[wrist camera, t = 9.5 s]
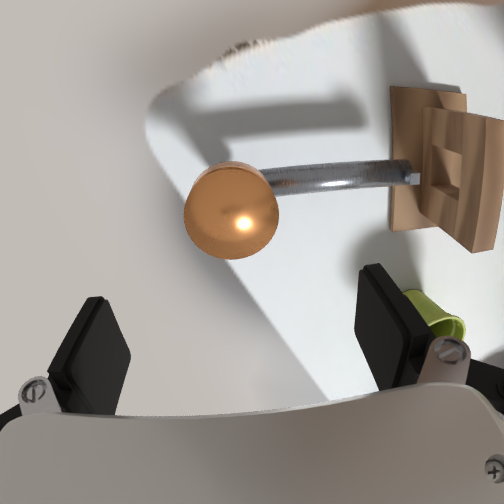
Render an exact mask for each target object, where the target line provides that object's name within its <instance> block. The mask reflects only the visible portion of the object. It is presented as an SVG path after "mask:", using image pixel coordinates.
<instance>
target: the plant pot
mask: <svg viewBox="0 0 504 504" xmlns="http://www.w3.org/2000/svg"><path fill="white" fill-rule="evenodd" d="M403 294H404V295H406V296H407V297H408V298H409V299H410V301H411V302H412V303H413V305H414V306H415V308H416V309H417V310H418V312H419V313H420V315H421V316H422V317H423V319H424V320H425V322H426V323H427V324H428V326H429V327H430V329H431V330H432V332H433V333H434V334H435V336H436V337H437V338H438V337H441V336H453V337H456V338H459V339H461V340H462V341H463V340H464V337H465V333H466V328H465V324H464V322H463V320H462V319H461V318H459V317H457V316H454V315H451V314H449V313H446V312H445V311H444V310H443V309H441V308H440V307H439V306H438V305H437V304H435V303H434V302H433V301H432V300H431V299H429V298H428V297H427V296H426V295H425V294H423V293H422V292H421V291H419V290H408V291H405V292H403Z"/></svg>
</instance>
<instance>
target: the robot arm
mask: <svg viewBox="0 0 504 504" xmlns="http://www.w3.org/2000/svg"><path fill="white" fill-rule="evenodd" d="M354 331H355V335H356V338H357V340H358V342H359V345H360V347H361V349H362V351H363V354H364V356H365V358H366V361H367V363H368V365H369V367H370V370H371V372H372V374H373V377H374V379H375V382H376V384H377V386H378V389H379V391H378V392H373V393H369V394H364V395H359V396H354V397H349V398H343V399H338V400H332V401H327V402H321V403H315V404H309V405H303V406H296V407H288V408H281V409H273V410H264V411H255V412H244V413H233V414H218V415H199V416H158V417H157V416H117V415H115V411H116V408H117V404H118V400H119V397H120V393H121V389H122V387H123V383H124V380H125V376H126V373H127V370H128V367H129V363H130V360H131V354H130V350H129V348H128V346H127V344H126V342H125V339H124V337H123V335H122V333H121V331H120V328H119V325H118V323H117V321H116V318H115V316H114V313H113V311H112V309H111V306H110V304H109V302H108V300H105V299H104V298H103V297H102V296H99V297H89V298H87V300H86V302H85V303H84V305H83V307H82V308H81V310H80V312H79V313H78V315H77V317H76V318H75V320H74V322H73V324H72V326H71V327H70V329H69V331H68V333H67V335H66V336H65V338H64V340H63V342H62V343H61V345H60V347H59V349H58V351H57V353H56V355H55V357H54V358H53V360H52V362H51V364H50V366H49V368H48V370H47V372H48V373H49V377H48V378H45V377H42V376H38V377H34V378H31V379H29V380H28V381H27V382H25V383H24V384H23V385H22V387H21V388H20V390H19V394H18V400H19V404H17V405H16V406H14V407H12V408H11V409H9V410H7V411H6V412H4V413H2V414H1V415H0V504H504V369H501V368H498V367H495V366H492V365H489V364H486V363H483V362H480V361H477V360H474V359H471V351H470V349H469V347H468V345H467V344H466V343H465V342H464V341H462V340H461V339H459V338H456V337H453V336H441V337H438V338H437V337H436V336H435V334H434V333H433V332H432V330H431V329H430V327H429V326H428V324H427V323H426V322H425V320H424V319H423V317H422V316H421V315H420V313H419V312H418V310H417V309H416V308H415V306H414V305H413V303H412V302H411V301H410V299H409V298H408V297H407V296H406V295H404V294H403V293H402V292H401V291H400V289H399V288H398V287H397V285H396V284H395V283H394V281H393V280H392V279H391V277H390V276H389V275H388V273H387V272H386V271H385V269H384V268H383V267H382V265H381V264H380V263H377V264H371V265H365V266H364V268H363V270H360V271H359V279H358V292H357V304H356V315H355V325H354Z"/></svg>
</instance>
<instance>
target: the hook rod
mask: <svg viewBox="0 0 504 504" xmlns="http://www.w3.org/2000/svg"><path fill="white" fill-rule="evenodd" d="M419 184H420V173H419V172H417V171H415V170H413V168H412V165H411V163H410V161H409V160H407V159H395V160H371V161H353V162H337V163H324V164H311V165H300V166H289V167H279V168H270V169H261V170H257V169H256V168H254V167H252V166H250V165H248V164H245V163H242V162H236V161H227V162H221V163H218V164H215V165H213V166H211V167H209V168H208V169H206V170H205V171H204V172H202V173H201V174H200V175H199V177H198V178H197V179H196V181H195V182H194V184H193V186H192V189H191V191H190V193H189V196H188V198H187V200H186V204H185V208H184V223H185V226H186V230H187V232H188V235H189V236H190V237H191V239H192V241H193V242H194V243H195V244H196V245H197V246H198V247H199V248H200V249H201V250H203V251H204V252H206V253H207V254H209V255H212V256H214V257H217V258H221V259H230V260H233V259H241V258H245V257H248V256H251V255H253V254H255V253H257V252H258V251H260V250H261V249H263V248H264V247H265V246H266V245H267V244H268V243H269V241H270V240H271V239H272V237H273V235H274V234H275V231H276V229H277V226H278V220H279V209H278V204H277V201H276V198H275V197H277V196H286V195H295V194H305V193H315V192H325V191H336V190H347V189H359V188H372V187H386V186H400V185H419Z"/></svg>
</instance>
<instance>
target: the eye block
mask: <svg viewBox="0 0 504 504" xmlns="http://www.w3.org/2000/svg"><path fill="white" fill-rule="evenodd" d="M390 93H391V112H392V160H395V159H407V160H409V161H410V163H411V165H412V168H413V170H415V171H417V172H419V173H420V184H419V185H400V186H392V201H391V220H390V230H391V231H392V232H397V231H405V230H413V229H421V228H430V227H439V228H441V229H442V230H443V231H445V232H446V233H447V234H448V235H450V236H451V237H452V238H453V239H455V240H456V241H457V242H458V243H460V244H461V245H462V246H463V247H465V248H466V249H467V250H468V251H469V252H471V253H477V252H483V251H488V250H493V248H494V243H495V238H496V233H497V228H498V223H499V217H500V211H501V204H502V197H503V189H504V120H500V119H496V118H491V117H487V116H482V115H477V114H472V113H467V101H466V94H462V93H455V92H447V91H439V90H430V89H420V88H408V87H390Z"/></svg>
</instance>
